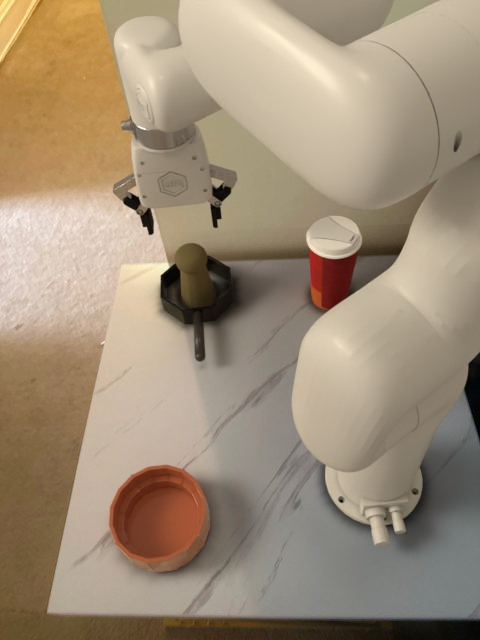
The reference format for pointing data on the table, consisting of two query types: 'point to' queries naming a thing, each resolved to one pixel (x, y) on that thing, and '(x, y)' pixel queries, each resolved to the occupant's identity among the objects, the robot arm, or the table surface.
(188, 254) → the olive rounded piece
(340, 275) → the coffee cup
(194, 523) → the bowl
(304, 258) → the table surface
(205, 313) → the pan
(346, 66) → the robot arm
